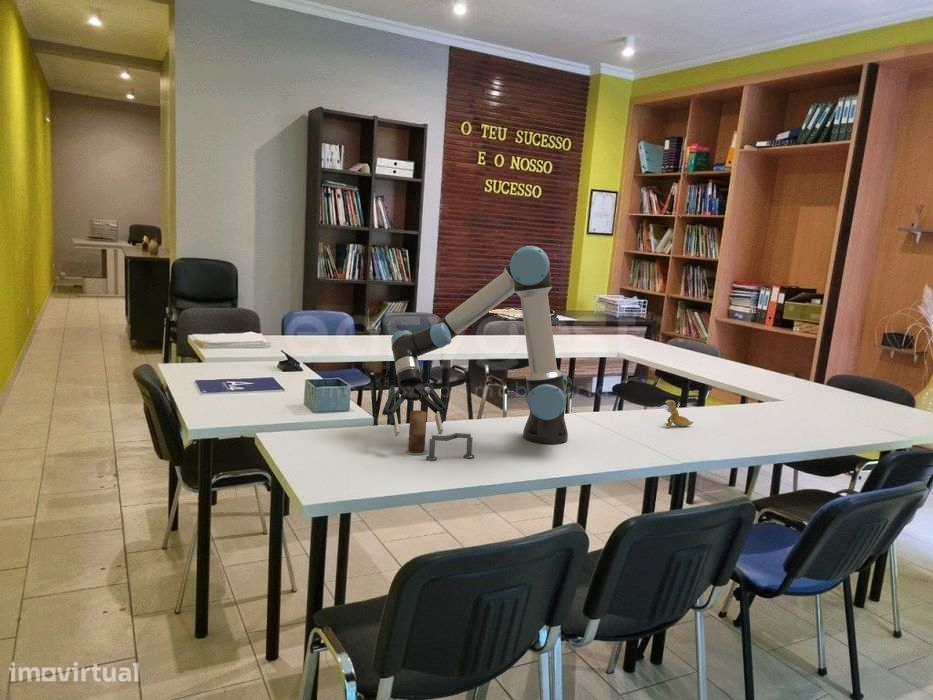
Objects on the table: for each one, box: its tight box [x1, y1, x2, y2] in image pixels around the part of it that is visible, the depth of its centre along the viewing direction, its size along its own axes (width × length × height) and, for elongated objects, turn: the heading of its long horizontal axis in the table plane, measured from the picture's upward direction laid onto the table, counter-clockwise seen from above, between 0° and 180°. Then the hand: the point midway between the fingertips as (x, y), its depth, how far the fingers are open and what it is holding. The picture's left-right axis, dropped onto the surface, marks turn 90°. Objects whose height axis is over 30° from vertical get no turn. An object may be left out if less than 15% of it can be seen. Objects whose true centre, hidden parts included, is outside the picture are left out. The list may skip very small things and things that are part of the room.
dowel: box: [407, 409, 428, 453], centre depth 203 cm, size 5×5×12 cm
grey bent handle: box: [425, 432, 475, 462], centre depth 199 cm, size 15×4×7 cm, turn 113°
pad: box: [406, 448, 427, 456], centre depth 204 cm, size 6×6×1 cm
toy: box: [664, 399, 694, 429], centre depth 254 cm, size 7×15×10 cm, turn 108°
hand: (419, 433), depth 200 cm, fingers open, 13 cm apart
